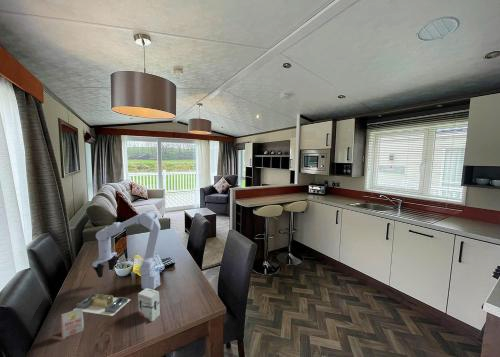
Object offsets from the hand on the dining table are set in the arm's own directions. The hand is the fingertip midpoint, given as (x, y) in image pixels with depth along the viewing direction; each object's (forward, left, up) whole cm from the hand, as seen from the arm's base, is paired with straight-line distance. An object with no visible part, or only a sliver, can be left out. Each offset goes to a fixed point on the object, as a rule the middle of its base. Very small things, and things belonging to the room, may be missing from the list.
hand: (106, 273), depth 121 cm
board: (-10, +13, -9) cm, 19 cm away
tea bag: (-12, +30, -10) cm, 34 cm away
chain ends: (-10, +13, -8) cm, 18 cm away
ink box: (-37, +15, -10) cm, 41 cm away
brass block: (-10, +13, -8) cm, 18 cm away
